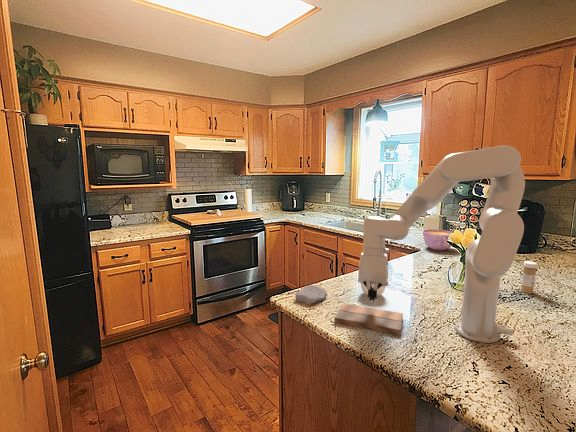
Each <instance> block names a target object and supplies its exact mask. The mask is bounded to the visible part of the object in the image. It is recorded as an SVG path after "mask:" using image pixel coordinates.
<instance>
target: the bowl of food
mask: <svg viewBox="0 0 576 432" xmlns="http://www.w3.org/2000/svg"><path fill="white" fill-rule="evenodd" d="M452 232H453V231H451V230H446V229H437V228H436V229H433V228H431V229H428V228H427V229H423V230H422V234H423V235H422V236H423V240H424V241H423V242H424V244H425V245H426V246H427V247H428V248H429V249H431V250H433V251H439V252H440V251H445V250H447V249H449V248H450V247H451V248H452V245H450V244H448V242H447V241H448V237H449V235H450V234H451V233H452Z"/></svg>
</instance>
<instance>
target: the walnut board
mask: <svg viewBox="0 0 576 432" xmlns="http://www.w3.org/2000/svg"><path fill="white" fill-rule="evenodd" d="M333 321H334V323H335V324H339V325H344V326H349V327H355V328H358V329H359V328H360V329H363V330H369V331H370V330H371V331H374V332H375V331H376V332H380V333H384V334H390V335H393V336H394V335H395V336H401V335H402V327H403V321H402V322H401V321H396V320H390V319H385V318H379V317H373V316H368V315H362V314H357V313H351V312H346V311H340V310H339V309H338V311H337V312H336V314H335V316H334V320H333Z"/></svg>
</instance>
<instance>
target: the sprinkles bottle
mask: <svg viewBox="0 0 576 432" xmlns="http://www.w3.org/2000/svg"><path fill="white" fill-rule="evenodd" d="M522 265H523V269H522V270H523V271H522V277H521V289H520V291H521V292H522V293H524V294H529V295H531V294H534V289H535V288H534V287H535V283H536V274H537V273H536V272H537V268H538V263H537V262H535V261H531V260H530V261H529V260H527V261H526V260H525V261H524V262H523V264H522Z"/></svg>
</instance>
